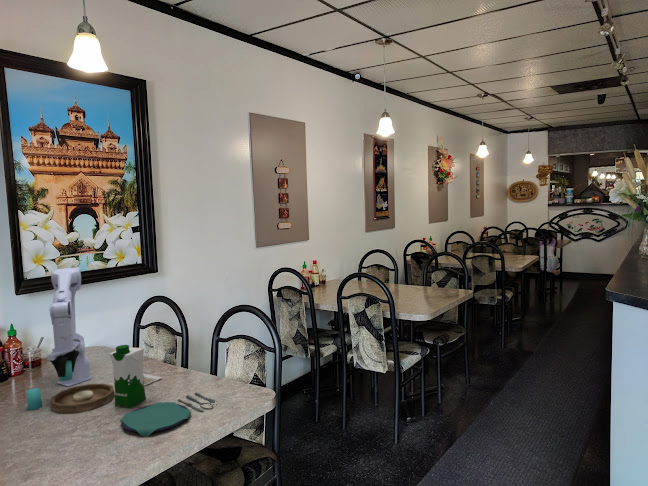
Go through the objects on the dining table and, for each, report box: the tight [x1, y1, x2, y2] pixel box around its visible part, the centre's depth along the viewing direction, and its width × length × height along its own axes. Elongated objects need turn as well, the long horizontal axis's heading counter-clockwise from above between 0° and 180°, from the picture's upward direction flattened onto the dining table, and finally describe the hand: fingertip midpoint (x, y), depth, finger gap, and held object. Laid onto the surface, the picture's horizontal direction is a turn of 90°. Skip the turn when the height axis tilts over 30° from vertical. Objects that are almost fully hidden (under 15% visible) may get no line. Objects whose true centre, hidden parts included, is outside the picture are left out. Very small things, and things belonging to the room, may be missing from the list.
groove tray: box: [50, 383, 115, 415], centre depth 163 cm, size 20×20×2 cm
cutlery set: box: [119, 391, 218, 437], centre depth 150 cm, size 20×30×2 cm, turn 138°
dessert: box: [143, 372, 163, 387], centre depth 180 cm, size 12×12×5 cm
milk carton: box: [109, 344, 147, 409], centre depth 160 cm, size 9×9×20 cm
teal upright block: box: [58, 360, 73, 381], centre depth 166 cm, size 4×4×6 cm
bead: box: [25, 387, 43, 411], centre depth 159 cm, size 4×4×6 cm
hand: (66, 374), depth 166 cm, fingers closed on teal upright block, 4 cm apart
